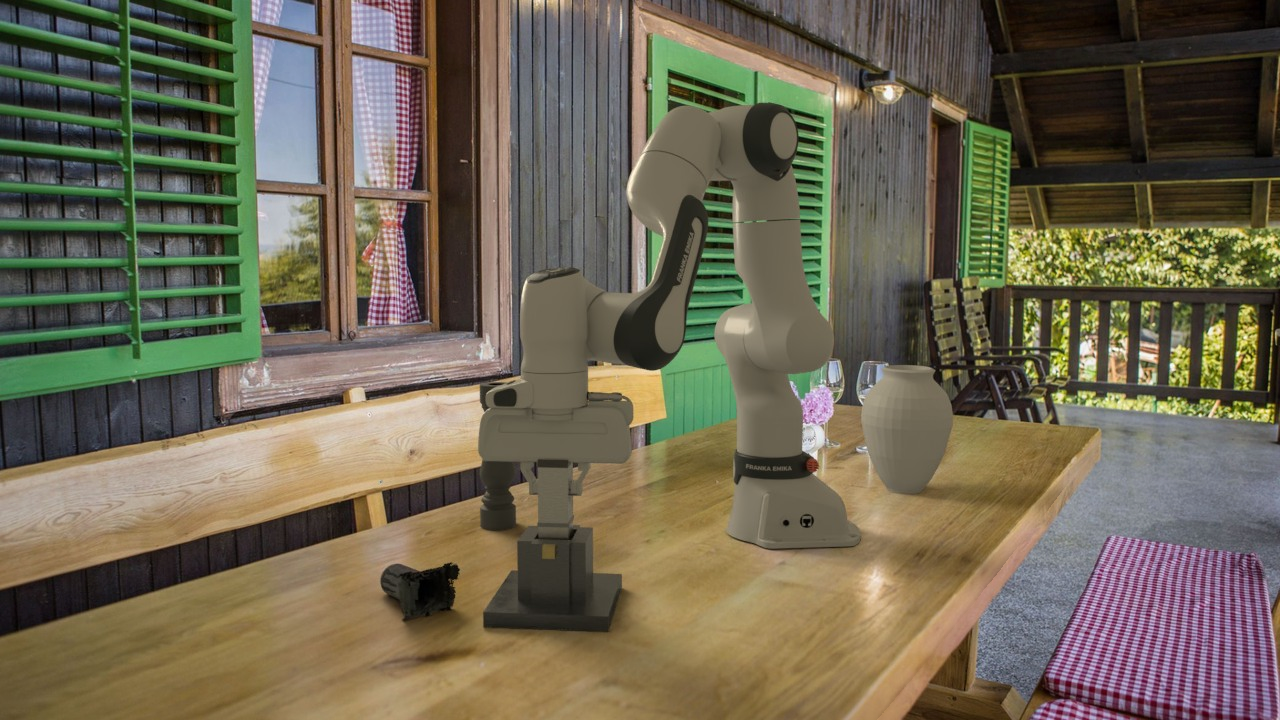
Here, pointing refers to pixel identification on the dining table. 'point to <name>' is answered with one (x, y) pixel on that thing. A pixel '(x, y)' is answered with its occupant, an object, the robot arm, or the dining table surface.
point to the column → (555, 500)
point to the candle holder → (496, 484)
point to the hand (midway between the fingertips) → (555, 494)
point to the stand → (555, 587)
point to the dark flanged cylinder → (421, 588)
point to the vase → (906, 427)
